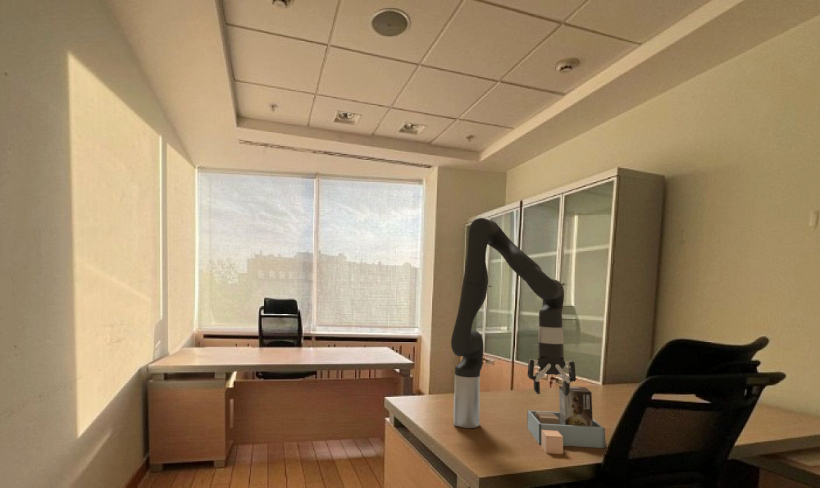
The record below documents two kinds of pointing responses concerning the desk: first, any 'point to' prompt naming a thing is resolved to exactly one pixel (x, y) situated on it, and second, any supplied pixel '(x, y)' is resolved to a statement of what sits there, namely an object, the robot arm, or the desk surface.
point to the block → (547, 418)
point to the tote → (568, 431)
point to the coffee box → (576, 407)
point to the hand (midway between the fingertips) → (551, 394)
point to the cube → (552, 441)
